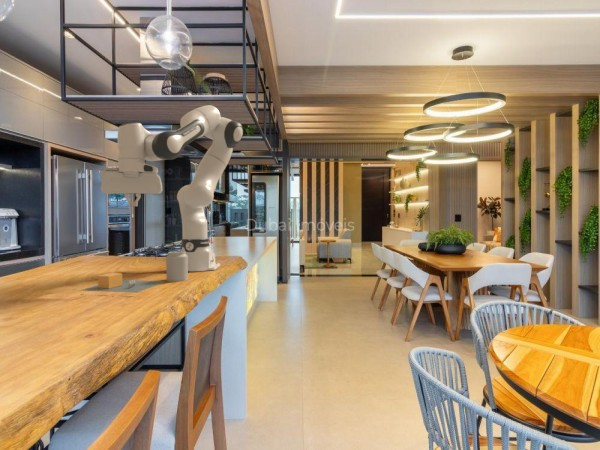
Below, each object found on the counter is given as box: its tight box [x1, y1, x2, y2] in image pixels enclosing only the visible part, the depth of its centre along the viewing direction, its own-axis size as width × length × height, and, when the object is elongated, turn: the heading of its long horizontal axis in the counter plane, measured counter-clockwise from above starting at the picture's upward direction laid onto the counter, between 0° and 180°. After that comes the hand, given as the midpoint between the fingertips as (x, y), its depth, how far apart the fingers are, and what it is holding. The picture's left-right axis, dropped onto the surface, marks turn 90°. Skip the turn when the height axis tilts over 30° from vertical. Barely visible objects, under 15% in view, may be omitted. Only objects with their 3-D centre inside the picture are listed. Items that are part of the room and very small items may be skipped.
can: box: [165, 250, 189, 283], centre depth 143 cm, size 8×8×12 cm
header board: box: [80, 279, 168, 298], centre depth 133 cm, size 19×20×4 cm
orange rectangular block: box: [97, 272, 123, 289], centre depth 130 cm, size 6×4×4 cm
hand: (133, 206), depth 140 cm, fingers closed
